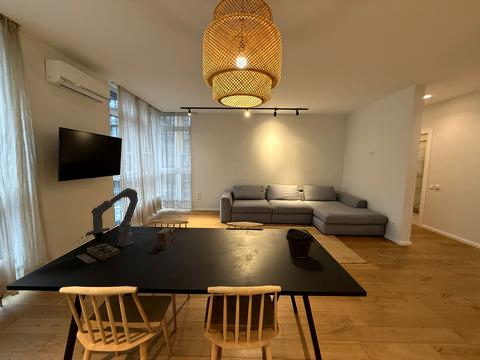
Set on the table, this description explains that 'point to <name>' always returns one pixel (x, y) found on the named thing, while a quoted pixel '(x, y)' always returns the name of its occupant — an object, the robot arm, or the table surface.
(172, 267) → the table surface
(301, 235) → the black bin
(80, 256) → the pattern card
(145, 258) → the table surface
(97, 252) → the wooden tray
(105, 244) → the button
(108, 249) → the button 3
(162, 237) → the stack of blocks
